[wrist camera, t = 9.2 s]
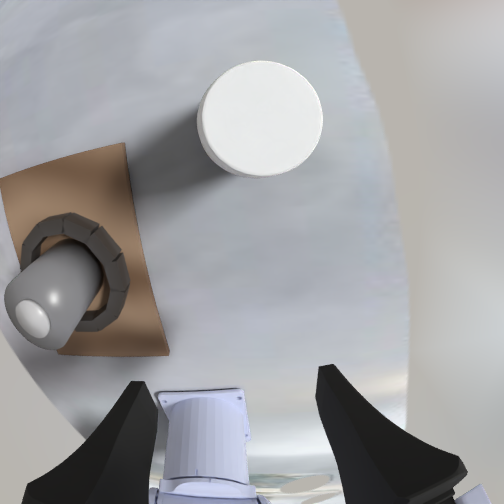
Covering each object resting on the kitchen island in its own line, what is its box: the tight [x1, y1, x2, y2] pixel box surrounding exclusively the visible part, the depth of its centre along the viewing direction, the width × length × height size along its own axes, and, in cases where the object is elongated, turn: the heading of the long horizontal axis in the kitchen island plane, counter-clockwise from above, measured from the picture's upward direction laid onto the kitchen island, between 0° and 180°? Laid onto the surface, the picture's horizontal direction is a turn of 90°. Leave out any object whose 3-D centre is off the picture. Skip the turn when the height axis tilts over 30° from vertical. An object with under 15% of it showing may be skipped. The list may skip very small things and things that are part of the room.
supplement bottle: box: [197, 61, 323, 178], centre depth 12 cm, size 5×5×8 cm
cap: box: [4, 239, 104, 350], centre depth 15 cm, size 5×5×6 cm
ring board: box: [0, 143, 170, 357], centre depth 18 cm, size 16×11×2 cm
